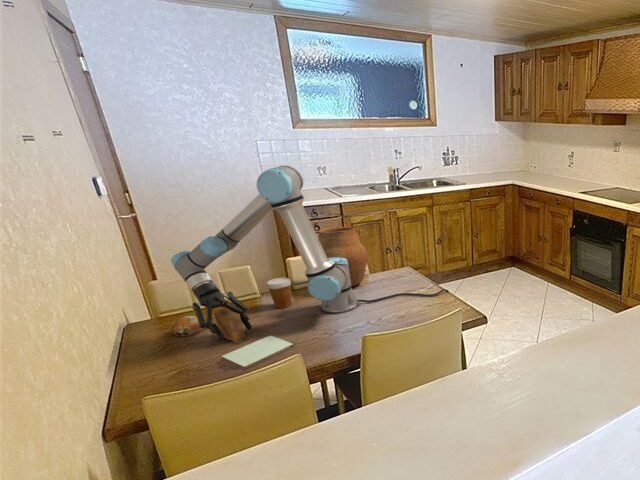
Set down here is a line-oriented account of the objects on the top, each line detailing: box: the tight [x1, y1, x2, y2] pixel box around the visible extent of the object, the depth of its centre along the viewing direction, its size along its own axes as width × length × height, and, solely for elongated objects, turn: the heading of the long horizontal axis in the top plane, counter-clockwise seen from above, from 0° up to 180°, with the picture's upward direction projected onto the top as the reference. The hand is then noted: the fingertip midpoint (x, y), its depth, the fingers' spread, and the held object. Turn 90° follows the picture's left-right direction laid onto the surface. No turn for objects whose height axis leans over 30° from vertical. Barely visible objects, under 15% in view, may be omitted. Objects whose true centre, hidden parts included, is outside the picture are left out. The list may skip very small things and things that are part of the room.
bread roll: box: [172, 315, 205, 337], centre depth 170 cm, size 10×10×8 cm
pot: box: [317, 226, 368, 287], centre depth 215 cm, size 24×24×30 cm
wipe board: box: [221, 334, 293, 367], centre depth 156 cm, size 18×14×1 cm
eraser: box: [213, 308, 246, 342], centre depth 164 cm, size 4×10×11 cm, turn 61°
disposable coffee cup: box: [266, 277, 292, 309], centre depth 193 cm, size 10×10×12 cm
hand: (236, 333), depth 163 cm, fingers open, 9 cm apart
